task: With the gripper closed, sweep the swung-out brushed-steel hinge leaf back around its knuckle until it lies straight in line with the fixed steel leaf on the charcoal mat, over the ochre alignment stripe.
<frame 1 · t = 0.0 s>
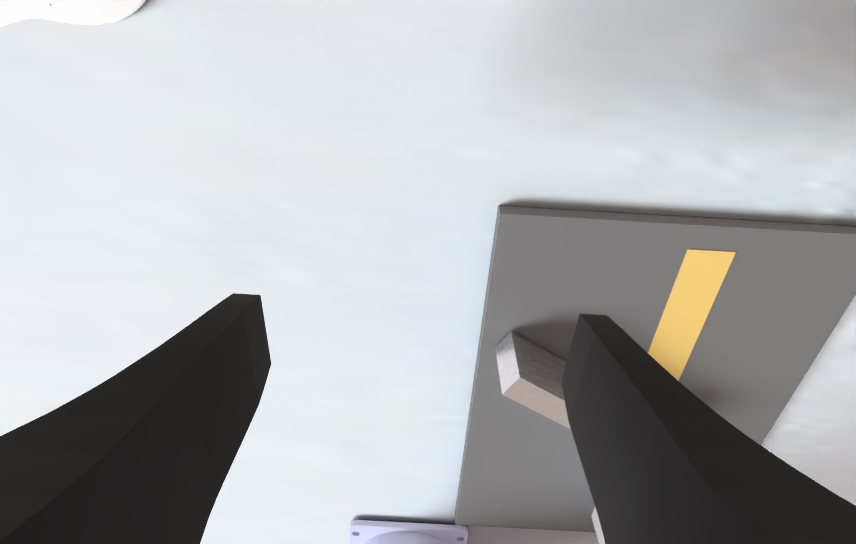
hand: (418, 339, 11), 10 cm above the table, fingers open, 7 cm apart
hinge leaf: (573, 396, 23), point 2 cm above the table, hinge at 60.0°
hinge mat: (619, 401, 26), on the table
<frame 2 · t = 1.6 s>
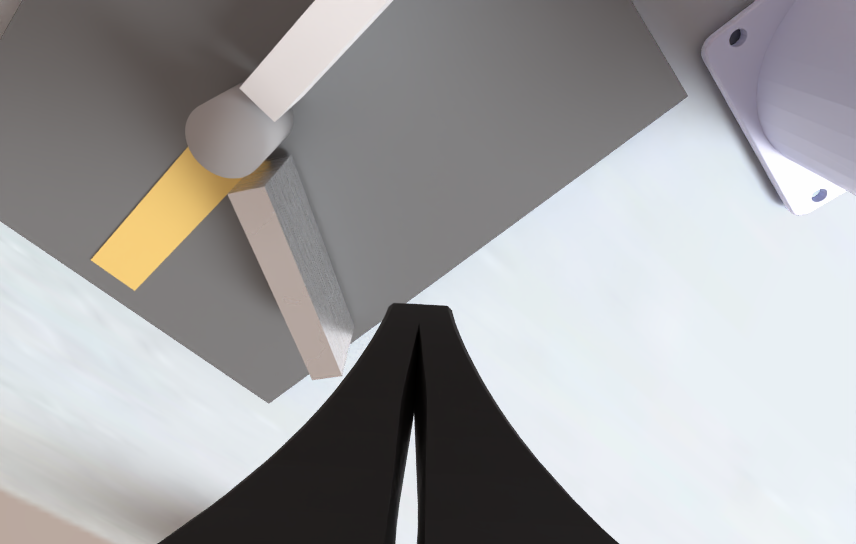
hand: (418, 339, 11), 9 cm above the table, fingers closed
hinge leaf: (302, 272, 18), point 2 cm above the table, hinge at 60.0°
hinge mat: (289, 129, 18), on the table
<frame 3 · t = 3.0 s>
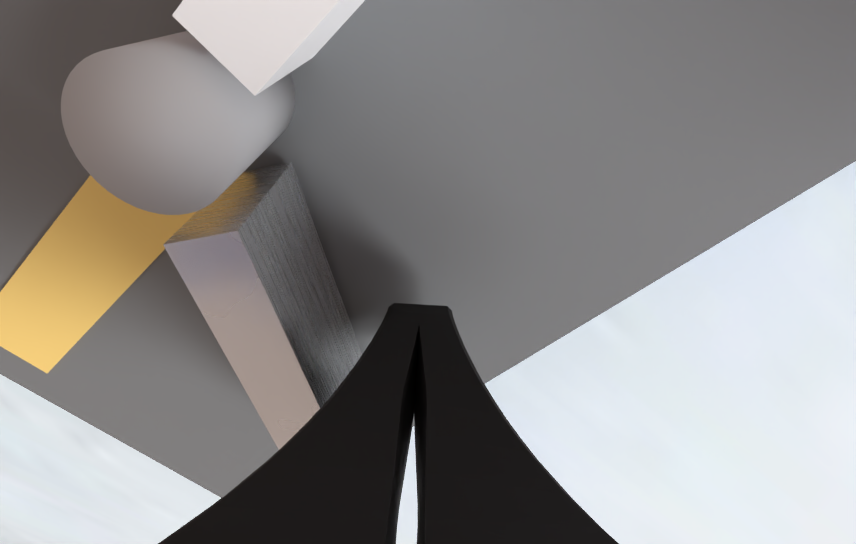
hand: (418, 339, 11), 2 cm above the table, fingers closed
hinge leaf: (310, 362, 10), point 3 cm above the table, hinge at 60.0°, touching gripper
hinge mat: (289, 118, 10), on the table
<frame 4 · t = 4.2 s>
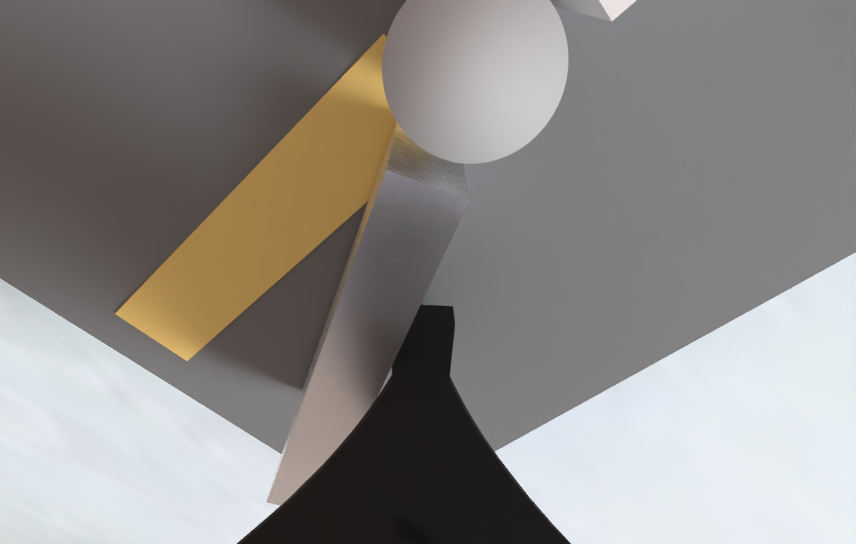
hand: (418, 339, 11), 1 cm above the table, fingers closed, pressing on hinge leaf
hinge leaf: (357, 329, 10), point 2 cm above the table, hinge at 26.6°, touching gripper
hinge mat: (491, 79, 10), on the table
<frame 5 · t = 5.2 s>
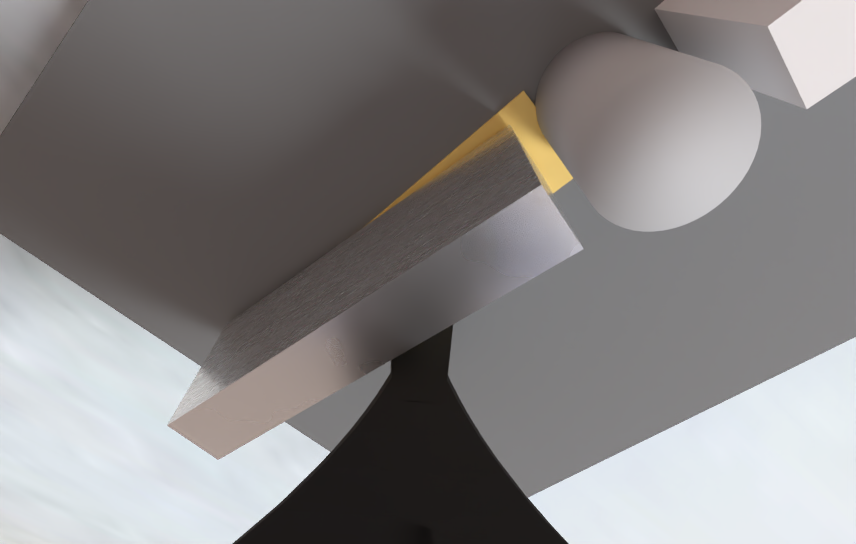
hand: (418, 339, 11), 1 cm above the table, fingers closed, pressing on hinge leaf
hinge leaf: (360, 295, 9), point 2 cm above the table, hinge at -5.2°, touching gripper
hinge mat: (610, 127, 10), on the table
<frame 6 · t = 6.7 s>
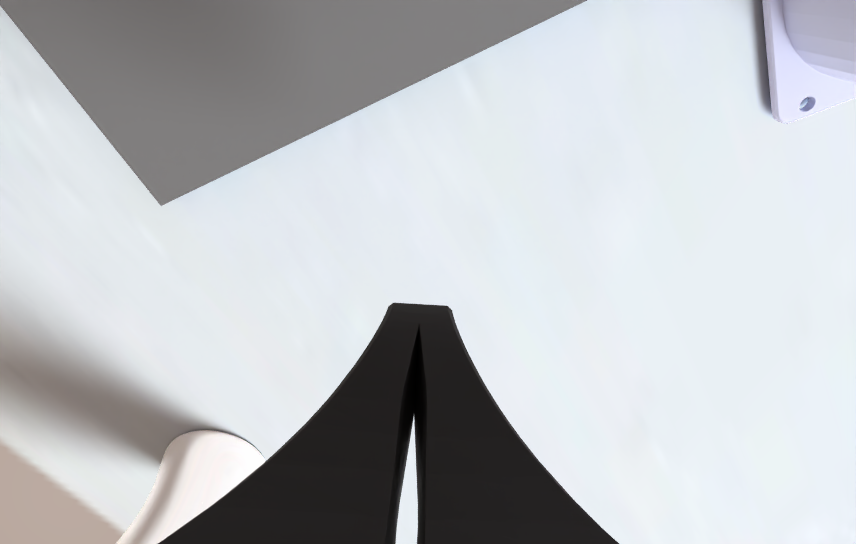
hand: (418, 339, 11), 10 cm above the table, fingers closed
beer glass: (219, 459, 30), on the table
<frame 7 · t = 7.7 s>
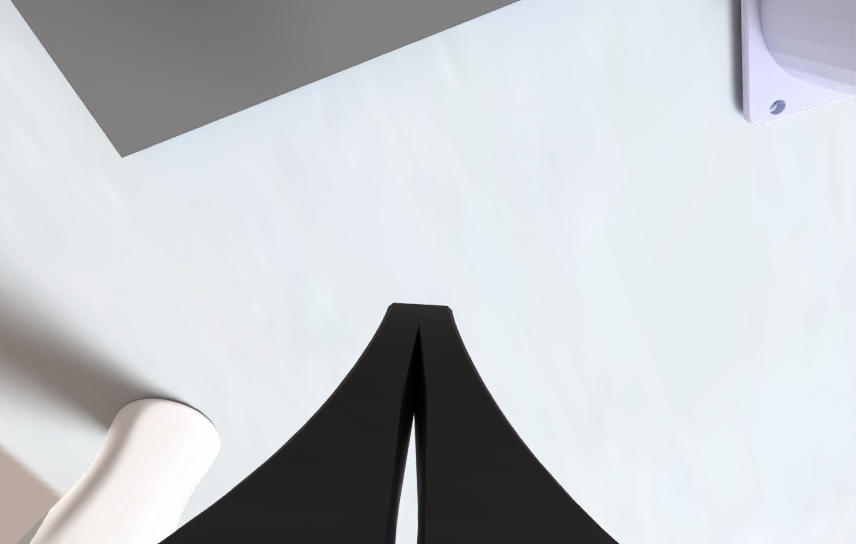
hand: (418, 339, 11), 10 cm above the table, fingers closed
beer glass: (171, 430, 29), on the table
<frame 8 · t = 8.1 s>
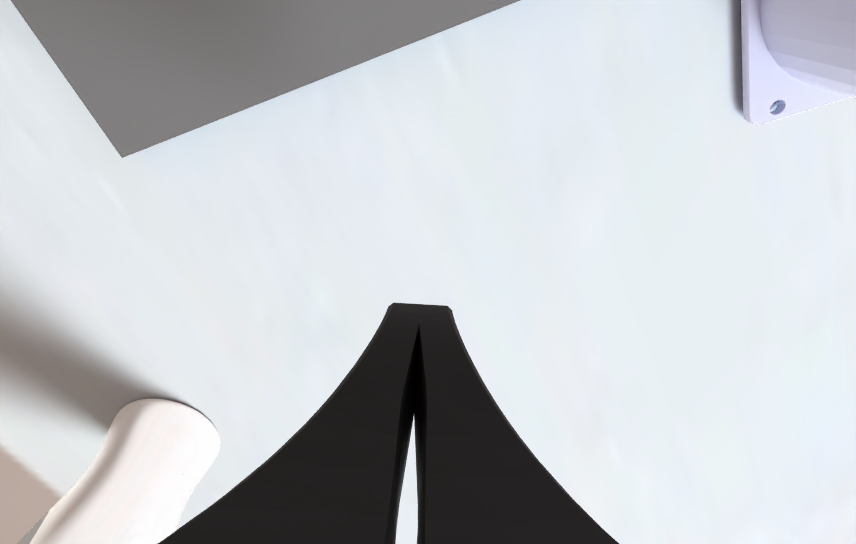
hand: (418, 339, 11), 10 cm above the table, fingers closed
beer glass: (171, 430, 29), on the table
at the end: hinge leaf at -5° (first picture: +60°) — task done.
